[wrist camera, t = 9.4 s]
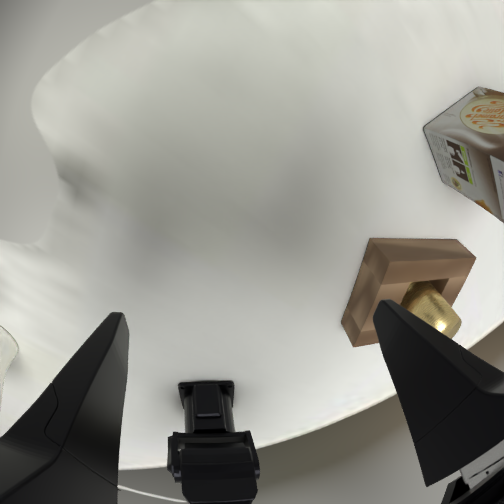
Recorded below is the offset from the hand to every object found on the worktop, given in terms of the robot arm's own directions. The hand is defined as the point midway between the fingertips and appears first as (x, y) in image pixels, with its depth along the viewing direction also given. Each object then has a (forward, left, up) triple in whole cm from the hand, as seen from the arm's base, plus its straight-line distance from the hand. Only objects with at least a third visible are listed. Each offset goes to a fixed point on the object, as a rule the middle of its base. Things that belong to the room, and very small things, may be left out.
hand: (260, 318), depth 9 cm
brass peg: (-9, -18, -12) cm, 23 cm away
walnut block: (-9, -18, -12) cm, 23 cm away
